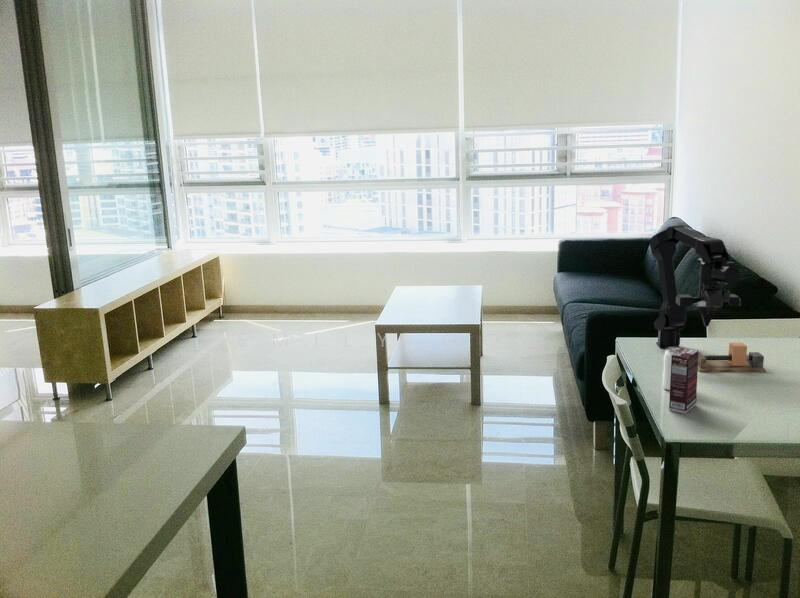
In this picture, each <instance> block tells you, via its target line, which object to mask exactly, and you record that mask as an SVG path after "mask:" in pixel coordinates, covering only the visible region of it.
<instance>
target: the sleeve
mask: <svg viewBox="0 0 800 598" xmlns="http://www.w3.org/2000/svg"><path fill="white" fill-rule="evenodd" d="M747 353H748V346H747V345H746V344H745V343H744V342H729V343H728V355H732V360H727V361H728V362H729V363H730V364H731V365H732V366H746V355H747Z"/></svg>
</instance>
